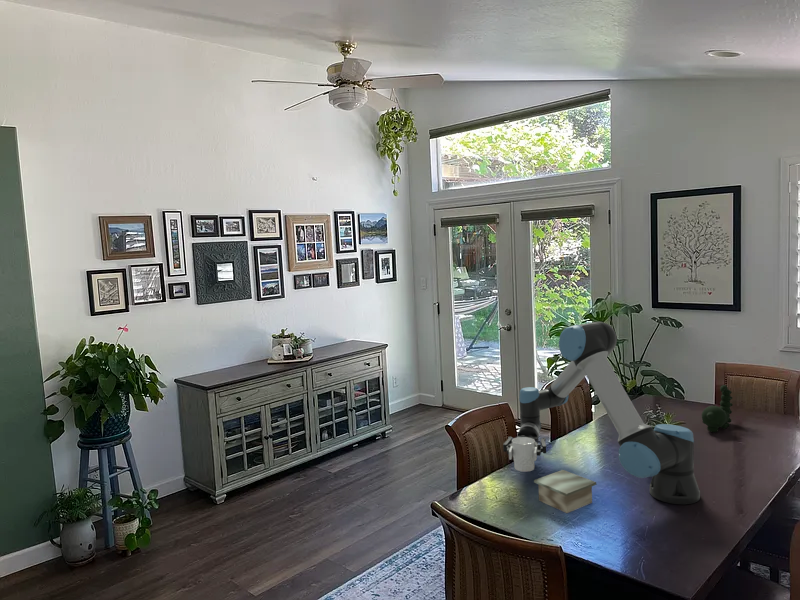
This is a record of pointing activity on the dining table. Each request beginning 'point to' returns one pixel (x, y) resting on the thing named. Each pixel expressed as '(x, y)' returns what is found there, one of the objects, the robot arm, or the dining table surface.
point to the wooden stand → (565, 490)
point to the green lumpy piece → (718, 412)
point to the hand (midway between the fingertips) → (522, 456)
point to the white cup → (523, 453)
